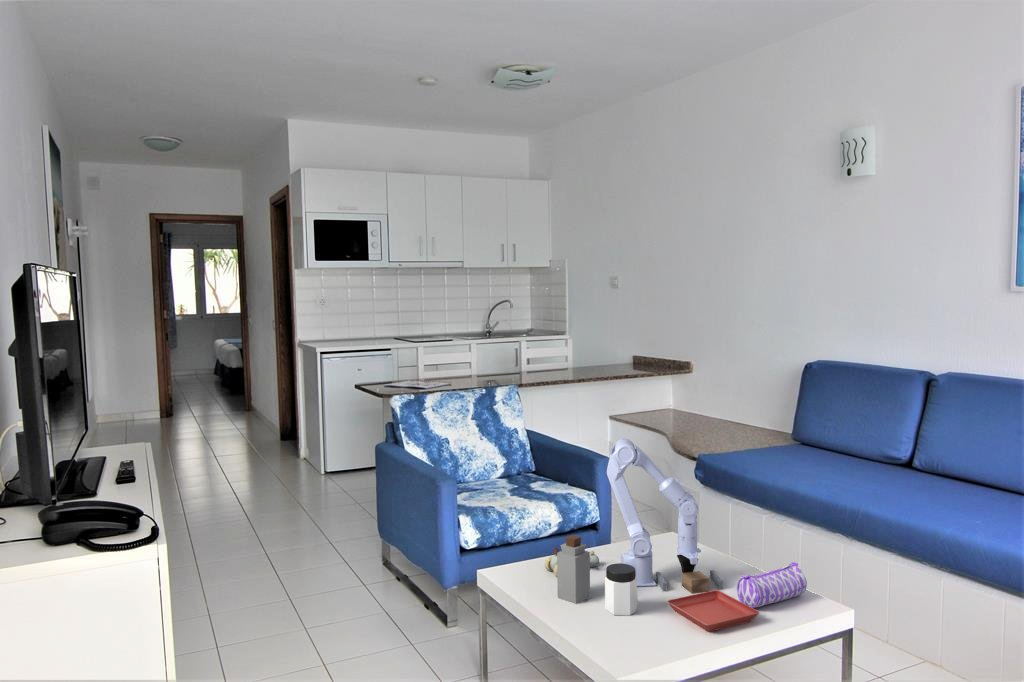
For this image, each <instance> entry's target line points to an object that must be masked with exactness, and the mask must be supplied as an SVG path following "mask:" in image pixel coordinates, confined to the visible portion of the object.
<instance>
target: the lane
mask: <svg viewBox="0 0 1024 682" xmlns="http://www.w3.org/2000/svg"><path fill="white" fill-rule="evenodd" d="M709 578H710V581H712V582H713V584H714V585H715V586H716V587H717V589H718V590H723V580H722V579H721V578H720V576H719V575H718V574H717V573H716V572H715V570H714V569H710V570H709ZM655 581H656V583H657V582H658V583H657V584H658V586H659V585H660V586H659V587H660V589H661V591H662V592H667V582H666V580H665V579H664V577H663V576H662V574H661V572H660V571H656V572H655Z"/></svg>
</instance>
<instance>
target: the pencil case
mask: <svg viewBox="0 0 1024 682" xmlns="http://www.w3.org/2000/svg"><path fill="white" fill-rule="evenodd" d="M739 576H740V578H739V580H738V581H737V585H736V590H737V591H736V592H737V593H736V594H737V596H738V599H739V600H738V601H740V602H742V603H744V604H746V605H748V606H750V607H752V608H753V609H755V608H759V607H762V606H765V605H771V604H775V603H778V602H782V601H785V600H789V599H792V598H794V597H795V598H796V597H798V596H801V595H803V594H804V593H805V592H806V591H807V588H808V587H807V584H808V581H807V579H806V576H805V574H804V573H803V571H802V570H801V569H800V568H799V563H798V562H795V561H791V562H790V563H789V564H786V565H785V566H783V567H781V568H778V569H774V570H771V571H769V572H763V573H760V574H757V575H750V574H748V575H745V574H744V575H743V574H740V575H739Z"/></svg>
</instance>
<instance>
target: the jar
mask: <svg viewBox="0 0 1024 682" xmlns="http://www.w3.org/2000/svg"><path fill="white" fill-rule="evenodd" d="M605 571H606V572H605V573H606V576H605V577H604V609H605V610H606V611H607V612H608V613H610V614H611V615H613V616H621V617H622V616H626V617H627V616H629V617H630V616H631V615H633V614H634V613H635V612H636V611H637V610H638V586H637V578H636V577H635V576H636V572H635V568H634V567H633V566H631V565H628V564H621V562H619V563H612V564H609V565H607V567H606V570H605Z"/></svg>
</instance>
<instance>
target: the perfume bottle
mask: <svg viewBox="0 0 1024 682" xmlns="http://www.w3.org/2000/svg"><path fill="white" fill-rule="evenodd" d="M586 547H587V544H585V543H582V537H581V536H578V535H574V534H571V535H568V536H566V537H565V543H562V544H560V548H561V550H560V551H559V552H558V553H557V577H556V578H557V579H556V580H557V599H560V600H564V601H566V602H569V603H572V604H574V605H575V604H576V605H577V604H578V603H581V602H582V601H584V600H587V599H588V598H590V597H591V573H590V572H591V568H590V551H587V550H586Z"/></svg>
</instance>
